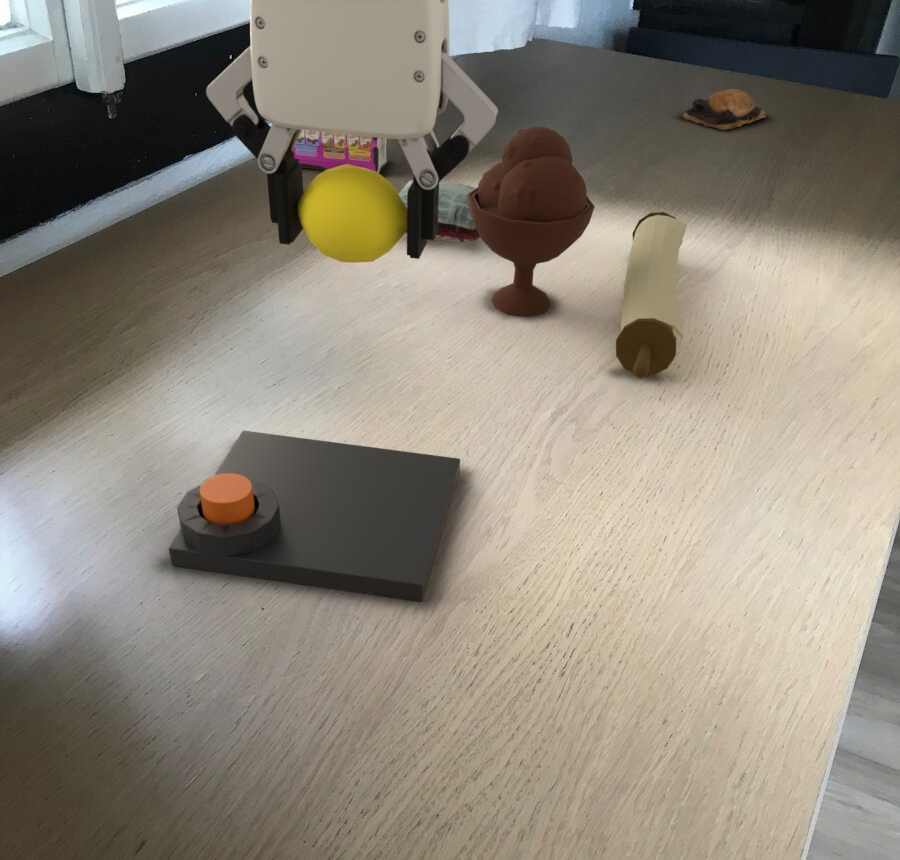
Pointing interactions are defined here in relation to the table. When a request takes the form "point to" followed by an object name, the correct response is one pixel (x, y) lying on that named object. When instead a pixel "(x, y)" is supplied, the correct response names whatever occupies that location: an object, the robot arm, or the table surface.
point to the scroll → (651, 296)
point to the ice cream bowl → (530, 212)
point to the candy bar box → (340, 150)
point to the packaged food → (451, 212)
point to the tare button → (227, 498)
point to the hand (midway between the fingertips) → (354, 240)
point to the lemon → (352, 214)
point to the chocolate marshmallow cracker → (725, 110)
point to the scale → (326, 516)
